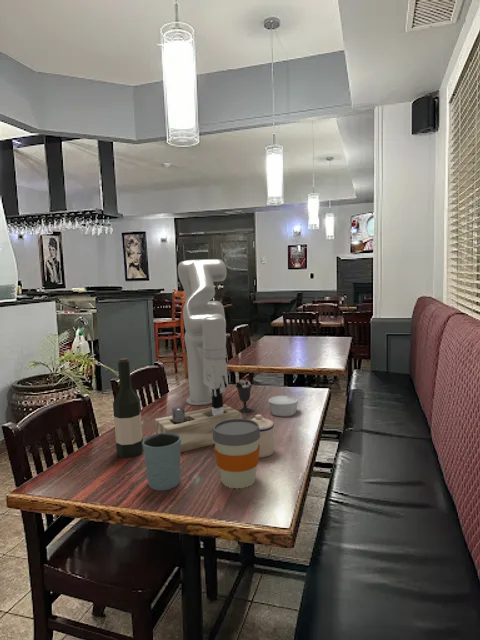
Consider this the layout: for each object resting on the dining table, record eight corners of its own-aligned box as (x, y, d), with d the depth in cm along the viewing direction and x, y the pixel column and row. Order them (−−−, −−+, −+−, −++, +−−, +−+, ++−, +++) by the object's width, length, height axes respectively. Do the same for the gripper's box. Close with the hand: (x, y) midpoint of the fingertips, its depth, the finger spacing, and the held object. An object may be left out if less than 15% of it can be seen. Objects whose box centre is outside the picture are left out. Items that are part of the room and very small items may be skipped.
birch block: (156, 442, 148) (155, 419, 147) (226, 426, 160) (225, 404, 159) (169, 455, 137) (167, 430, 136) (242, 436, 150) (241, 413, 149)
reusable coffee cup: (268, 487, 115) (266, 431, 113) (221, 496, 112) (218, 438, 110) (253, 466, 127) (251, 415, 125) (210, 474, 124) (207, 421, 122)
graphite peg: (171, 430, 146) (170, 408, 145) (183, 427, 148) (181, 405, 147) (176, 434, 142) (174, 411, 141) (187, 431, 144) (186, 409, 143)
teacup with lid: (275, 446, 141) (274, 410, 139) (274, 458, 132) (273, 420, 130) (237, 446, 142) (235, 410, 141) (234, 458, 133) (232, 420, 132)
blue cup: (149, 495, 114) (146, 450, 112) (141, 478, 123) (138, 436, 121) (188, 485, 117) (185, 442, 116) (177, 470, 127) (175, 429, 125)
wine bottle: (148, 448, 143) (142, 356, 140) (134, 459, 135) (127, 362, 132) (126, 445, 146) (119, 355, 142) (111, 456, 138) (103, 361, 134)
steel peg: (210, 427, 153) (209, 406, 152) (221, 425, 154) (220, 404, 154) (215, 431, 149) (214, 409, 148) (226, 428, 151) (225, 407, 150)
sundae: (254, 407, 179) (252, 371, 178) (252, 413, 173) (251, 375, 171) (237, 407, 180) (236, 371, 178) (235, 413, 173) (234, 375, 172)
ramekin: (304, 413, 170) (303, 399, 170) (281, 420, 164) (281, 406, 164) (285, 406, 180) (284, 393, 179) (263, 412, 174) (262, 399, 173)
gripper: (195, 351, 153) (198, 403, 155) (214, 358, 140) (217, 415, 142) (215, 349, 157) (217, 400, 159) (235, 355, 144) (238, 410, 146)
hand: (217, 406), depth 151 cm, fingers closed
